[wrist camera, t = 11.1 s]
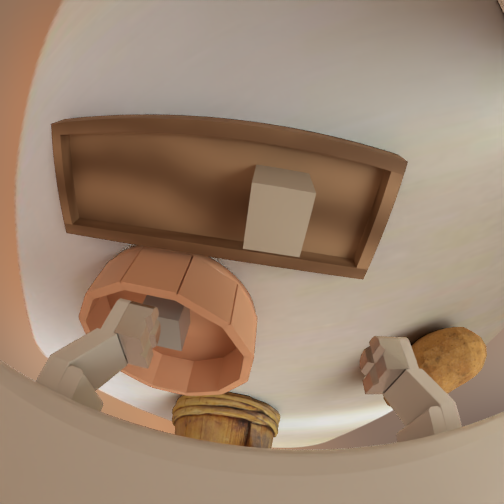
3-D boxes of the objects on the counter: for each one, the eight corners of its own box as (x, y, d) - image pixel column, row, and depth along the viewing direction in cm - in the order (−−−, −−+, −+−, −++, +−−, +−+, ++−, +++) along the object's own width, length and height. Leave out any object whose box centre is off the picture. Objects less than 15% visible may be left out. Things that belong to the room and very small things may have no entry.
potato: (362, 356, 30) (372, 413, 23) (460, 292, 23) (490, 348, 17) (392, 378, 33) (402, 425, 27) (474, 328, 27) (495, 374, 20)
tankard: (162, 407, 44) (134, 521, 24) (219, 362, 32) (186, 555, 12) (242, 433, 49) (230, 537, 28) (323, 399, 37) (325, 549, 16)
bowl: (91, 231, 23) (59, 266, 18) (268, 259, 23) (266, 307, 18) (121, 340, 32) (106, 373, 28) (245, 366, 32) (241, 404, 28)
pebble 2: (256, 164, 18) (252, 182, 15) (309, 173, 18) (316, 193, 15) (248, 221, 20) (242, 248, 17) (296, 229, 20) (299, 257, 17)
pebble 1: (152, 284, 24) (138, 312, 21) (189, 291, 24) (178, 321, 21) (156, 315, 27) (145, 342, 24) (190, 322, 27) (181, 351, 24)
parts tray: (64, 119, 17) (51, 123, 15) (397, 154, 17) (407, 161, 15) (76, 223, 22) (66, 232, 21) (358, 265, 23) (363, 279, 21)
